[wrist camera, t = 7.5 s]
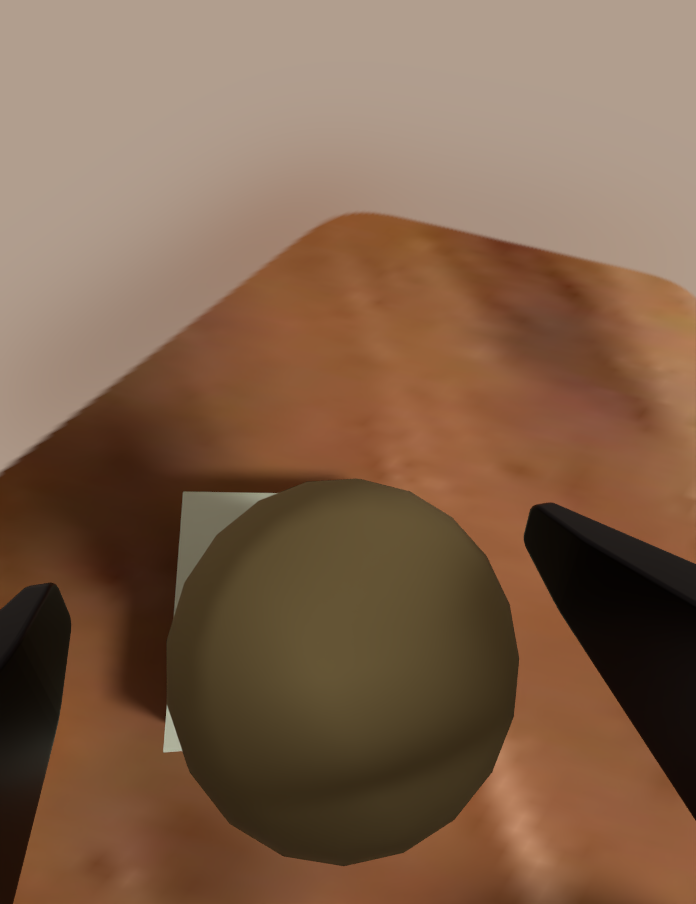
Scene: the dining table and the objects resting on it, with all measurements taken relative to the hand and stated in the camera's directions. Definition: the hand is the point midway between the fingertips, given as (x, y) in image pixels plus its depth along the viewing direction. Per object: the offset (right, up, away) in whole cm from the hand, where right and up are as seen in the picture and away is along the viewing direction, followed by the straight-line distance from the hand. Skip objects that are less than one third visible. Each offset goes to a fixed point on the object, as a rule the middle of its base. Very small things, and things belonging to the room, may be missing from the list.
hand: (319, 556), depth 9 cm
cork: (-1, -3, +7) cm, 8 cm away
